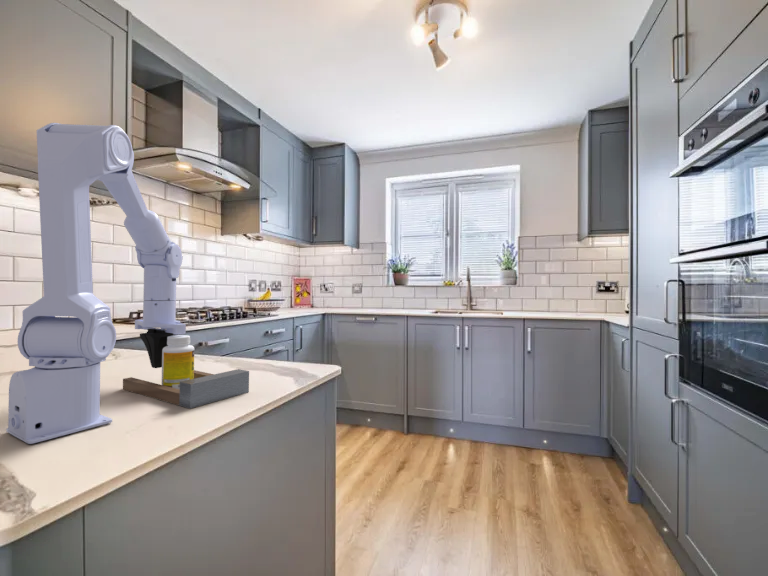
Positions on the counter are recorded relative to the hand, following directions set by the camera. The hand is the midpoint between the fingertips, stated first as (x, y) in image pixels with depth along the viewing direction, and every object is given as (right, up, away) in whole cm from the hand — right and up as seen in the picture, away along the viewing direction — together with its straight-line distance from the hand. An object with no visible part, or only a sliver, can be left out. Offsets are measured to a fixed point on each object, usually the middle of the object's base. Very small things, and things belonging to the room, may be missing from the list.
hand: (158, 367), depth 78 cm
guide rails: (+7, -4, -4) cm, 8 cm away
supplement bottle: (+6, -4, -3) cm, 8 cm away
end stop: (+16, -4, -9) cm, 18 cm away
